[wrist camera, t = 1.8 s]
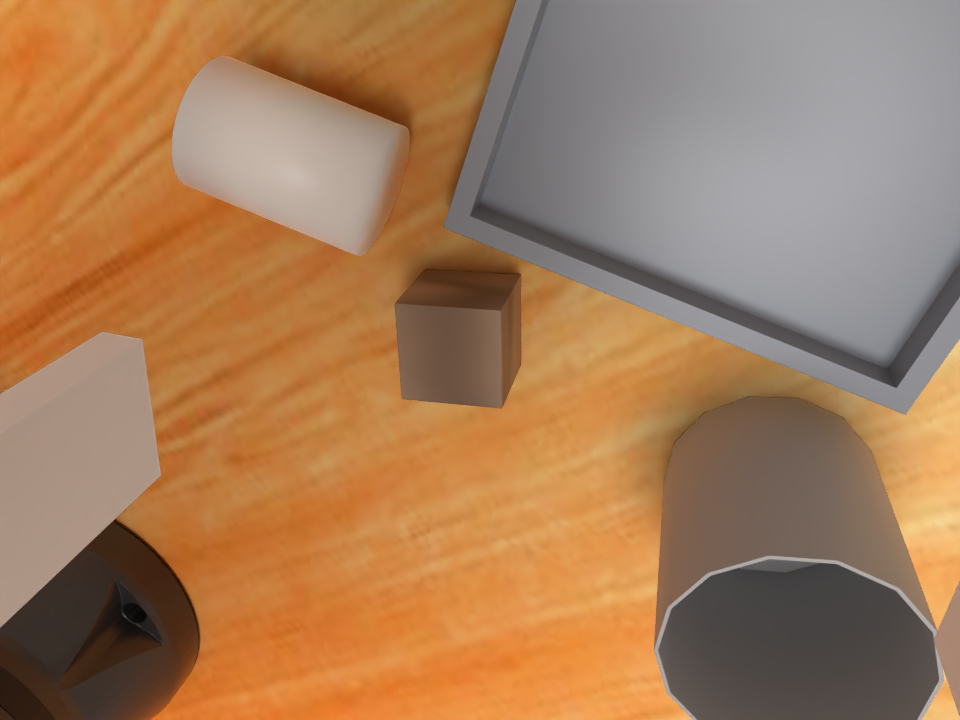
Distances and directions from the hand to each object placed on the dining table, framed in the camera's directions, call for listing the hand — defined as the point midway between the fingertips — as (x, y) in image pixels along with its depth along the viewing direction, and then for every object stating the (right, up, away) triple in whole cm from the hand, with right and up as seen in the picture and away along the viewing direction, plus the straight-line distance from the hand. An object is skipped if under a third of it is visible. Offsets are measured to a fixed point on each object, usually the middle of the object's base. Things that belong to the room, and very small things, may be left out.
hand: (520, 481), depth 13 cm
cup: (+11, -3, +21) cm, 24 cm away
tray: (+10, +12, +14) cm, 21 cm away
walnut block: (-1, +4, +21) cm, 21 cm away
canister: (-7, +11, +19) cm, 23 cm away
